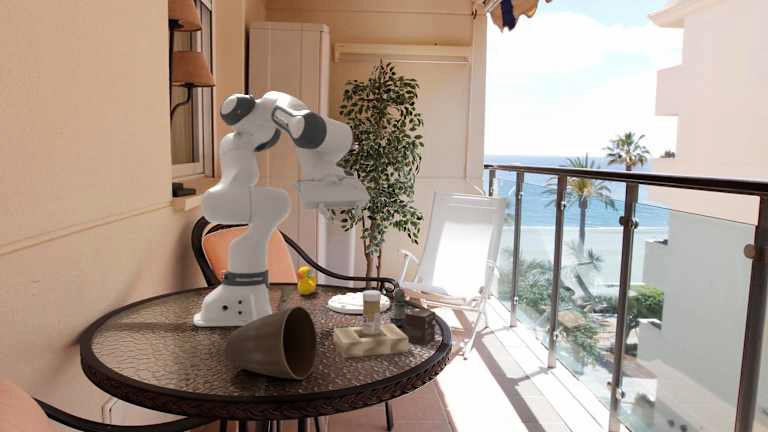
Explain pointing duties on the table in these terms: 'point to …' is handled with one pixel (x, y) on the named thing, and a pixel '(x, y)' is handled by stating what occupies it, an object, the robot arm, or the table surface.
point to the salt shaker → (398, 310)
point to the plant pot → (276, 344)
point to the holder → (370, 341)
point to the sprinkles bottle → (371, 313)
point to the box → (420, 326)
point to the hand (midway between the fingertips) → (344, 217)
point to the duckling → (306, 281)
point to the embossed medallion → (353, 303)
